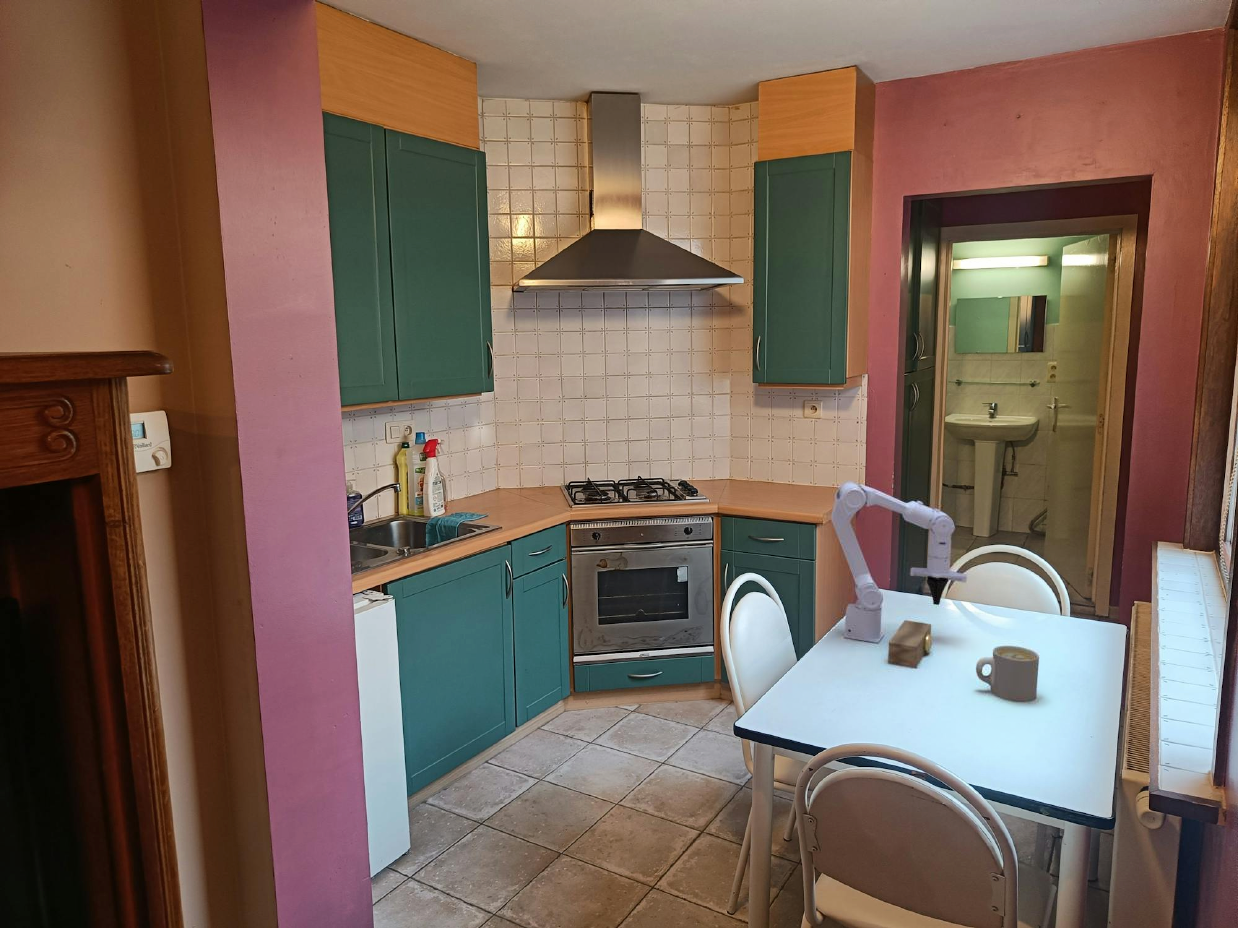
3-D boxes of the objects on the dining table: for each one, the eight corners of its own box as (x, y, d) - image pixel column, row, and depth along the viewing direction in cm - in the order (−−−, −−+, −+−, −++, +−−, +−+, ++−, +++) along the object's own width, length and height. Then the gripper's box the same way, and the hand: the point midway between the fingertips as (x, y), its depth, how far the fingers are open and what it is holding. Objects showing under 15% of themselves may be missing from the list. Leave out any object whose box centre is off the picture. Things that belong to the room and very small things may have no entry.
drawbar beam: (887, 662, 225) (888, 642, 224) (903, 639, 242) (904, 620, 241) (915, 667, 222) (916, 646, 221) (930, 643, 239) (931, 624, 238)
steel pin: (892, 649, 234) (892, 631, 233) (895, 643, 238) (896, 626, 237) (927, 655, 229) (928, 637, 229) (931, 649, 233) (931, 632, 233)
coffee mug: (1035, 688, 209) (1038, 648, 207) (1036, 704, 200) (1039, 663, 198) (975, 679, 214) (977, 641, 213) (974, 695, 205) (976, 654, 204)
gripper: (909, 556, 239) (906, 603, 241) (965, 562, 231) (962, 611, 234) (914, 550, 245) (911, 596, 247) (968, 556, 238) (966, 604, 240)
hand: (936, 603), depth 241 cm, fingers closed
